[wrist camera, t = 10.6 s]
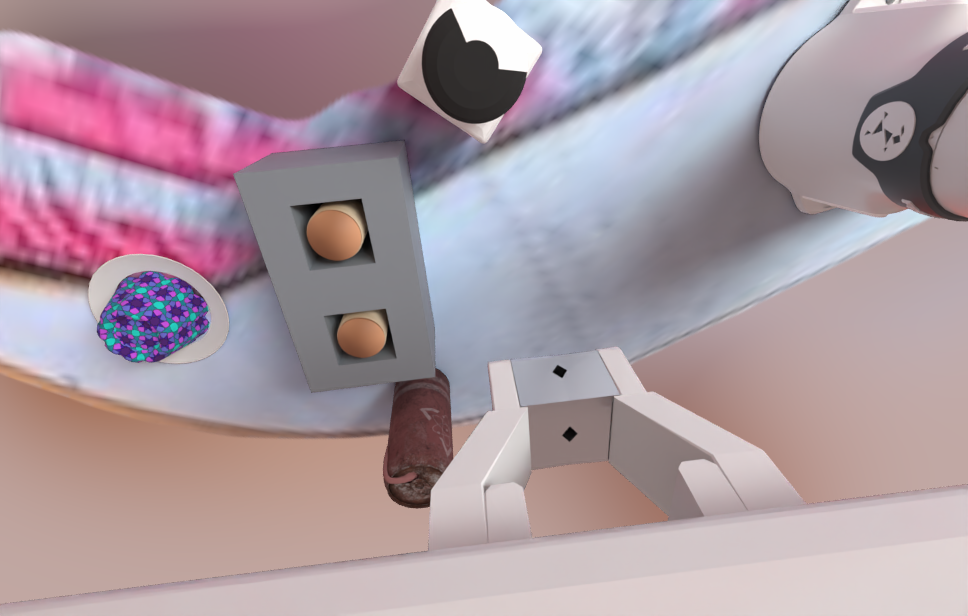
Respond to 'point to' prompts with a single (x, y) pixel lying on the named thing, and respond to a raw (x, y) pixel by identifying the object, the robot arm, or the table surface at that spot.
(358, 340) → the peg
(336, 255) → the peg
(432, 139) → the table surface
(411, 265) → the block
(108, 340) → the pudding
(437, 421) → the can
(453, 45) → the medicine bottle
